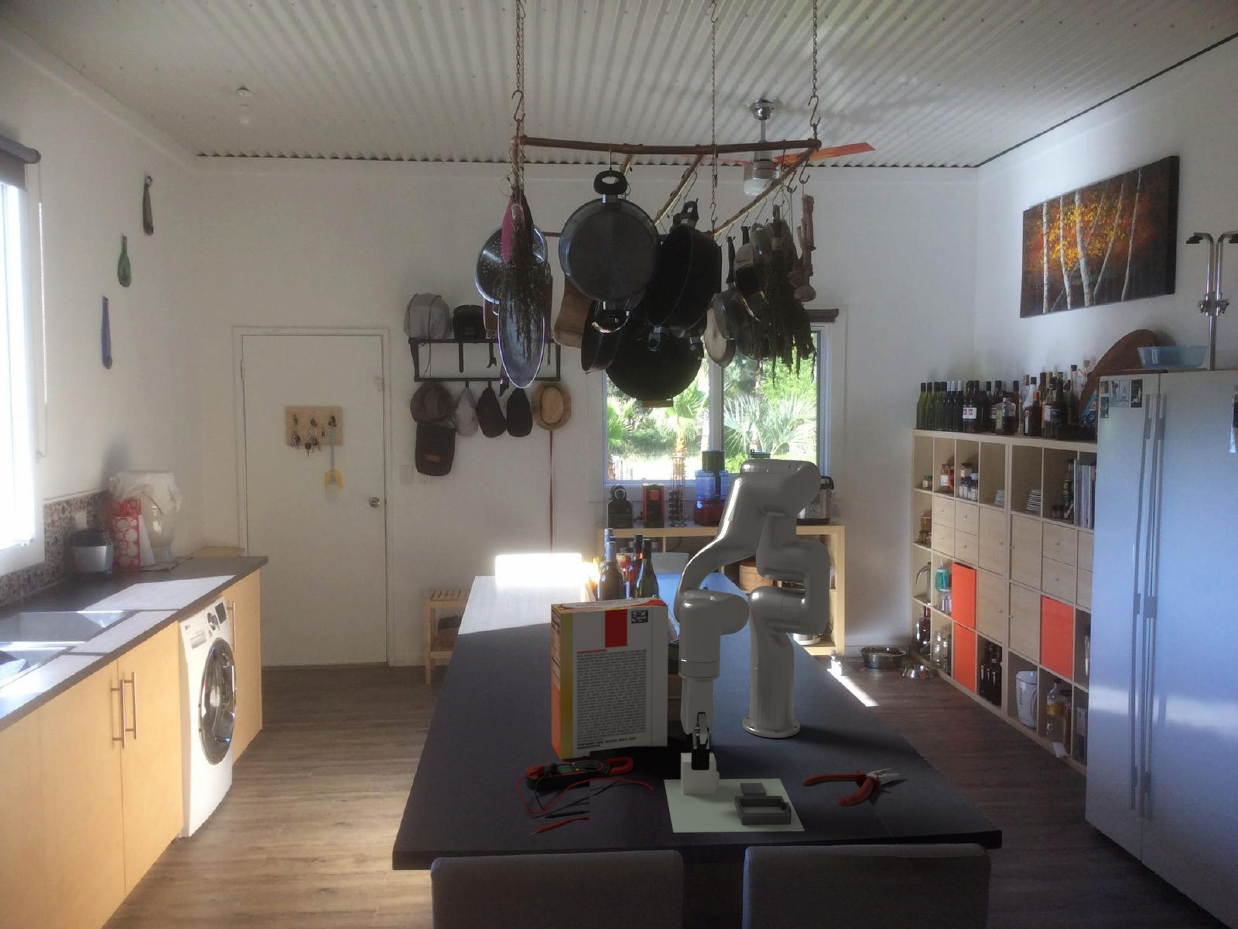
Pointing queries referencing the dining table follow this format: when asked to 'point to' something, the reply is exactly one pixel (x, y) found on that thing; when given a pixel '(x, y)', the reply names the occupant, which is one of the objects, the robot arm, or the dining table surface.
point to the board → (725, 807)
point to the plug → (698, 777)
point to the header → (763, 817)
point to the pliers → (858, 783)
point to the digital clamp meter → (573, 780)
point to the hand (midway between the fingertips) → (696, 758)
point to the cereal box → (608, 675)
